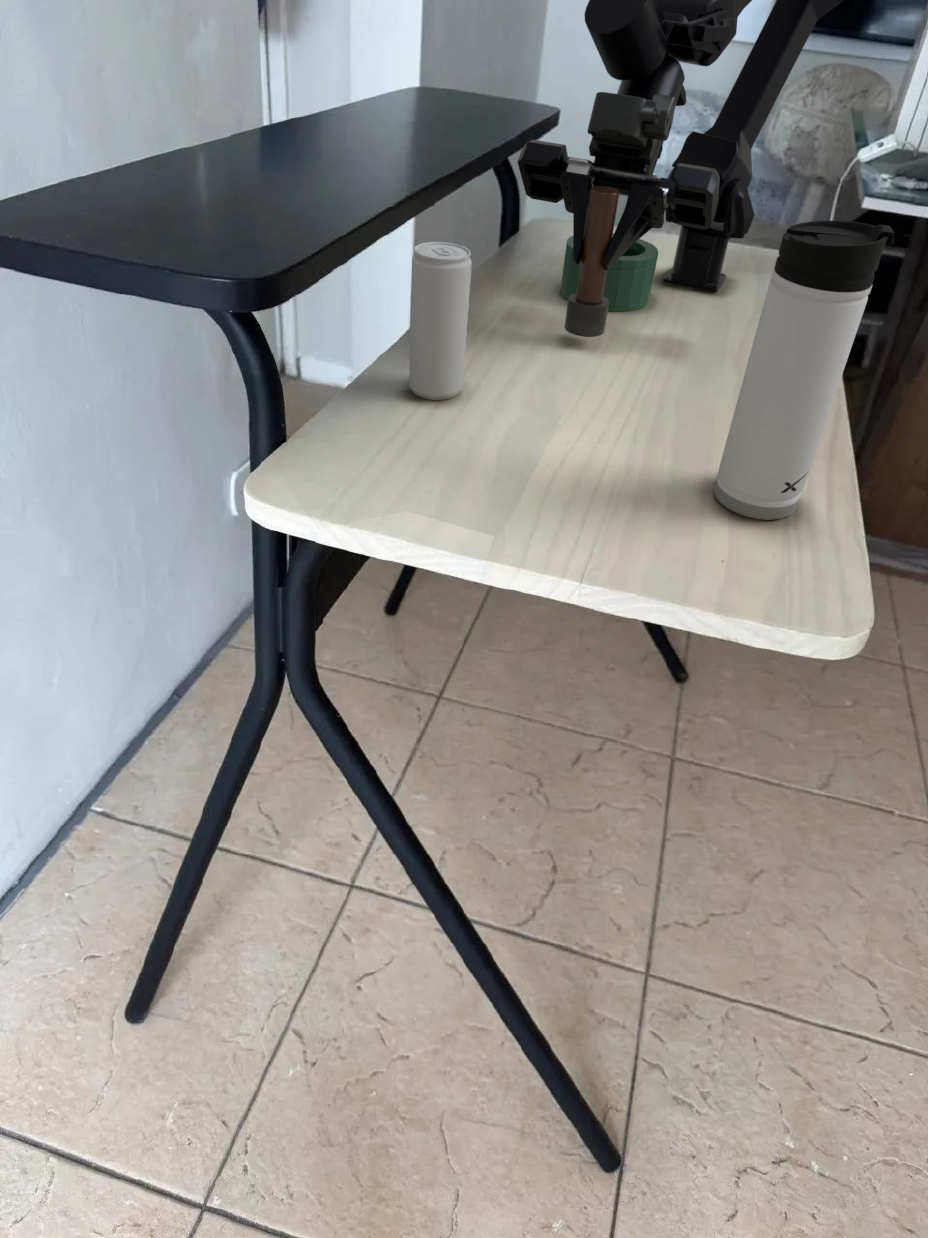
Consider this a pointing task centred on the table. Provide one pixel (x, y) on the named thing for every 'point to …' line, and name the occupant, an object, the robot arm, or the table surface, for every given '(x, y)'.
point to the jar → (618, 276)
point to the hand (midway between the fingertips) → (590, 265)
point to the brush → (593, 266)
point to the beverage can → (439, 319)
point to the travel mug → (797, 363)
